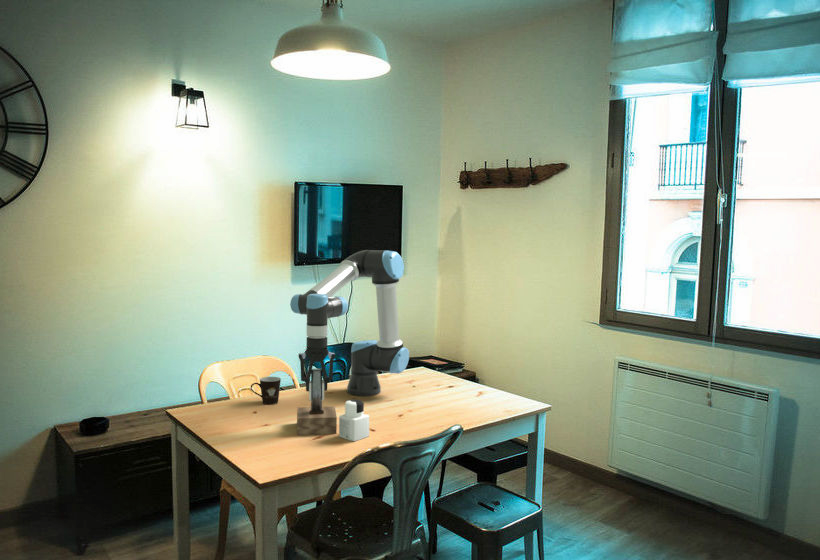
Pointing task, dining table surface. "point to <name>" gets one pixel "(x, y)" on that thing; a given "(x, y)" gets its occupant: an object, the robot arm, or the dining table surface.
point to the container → (354, 421)
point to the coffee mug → (269, 389)
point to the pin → (316, 390)
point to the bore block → (316, 421)
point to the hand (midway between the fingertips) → (316, 399)
